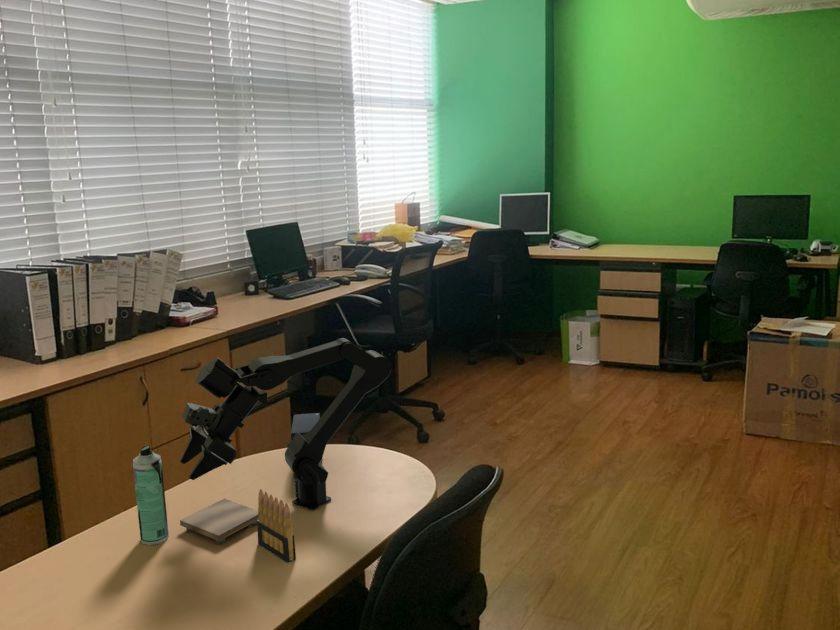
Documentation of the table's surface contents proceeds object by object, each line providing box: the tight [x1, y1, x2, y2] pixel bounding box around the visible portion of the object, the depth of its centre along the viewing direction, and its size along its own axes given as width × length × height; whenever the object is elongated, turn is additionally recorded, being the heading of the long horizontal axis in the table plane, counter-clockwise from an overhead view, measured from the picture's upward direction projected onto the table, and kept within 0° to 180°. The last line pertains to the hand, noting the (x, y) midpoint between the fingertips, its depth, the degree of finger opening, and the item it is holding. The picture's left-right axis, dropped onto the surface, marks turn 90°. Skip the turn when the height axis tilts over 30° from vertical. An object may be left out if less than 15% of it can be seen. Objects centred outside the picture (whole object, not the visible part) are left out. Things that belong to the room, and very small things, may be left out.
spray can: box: [132, 445, 170, 546], centre depth 158 cm, size 6×6×20 cm
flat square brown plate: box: [179, 498, 259, 545], centre depth 164 cm, size 12×12×2 cm
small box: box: [290, 412, 323, 479], centre depth 193 cm, size 13×7×12 cm, turn 6°
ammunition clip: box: [256, 488, 297, 564], centre depth 153 cm, size 11×2×12 cm, turn 44°
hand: (186, 470), depth 161 cm, fingers open, 9 cm apart
